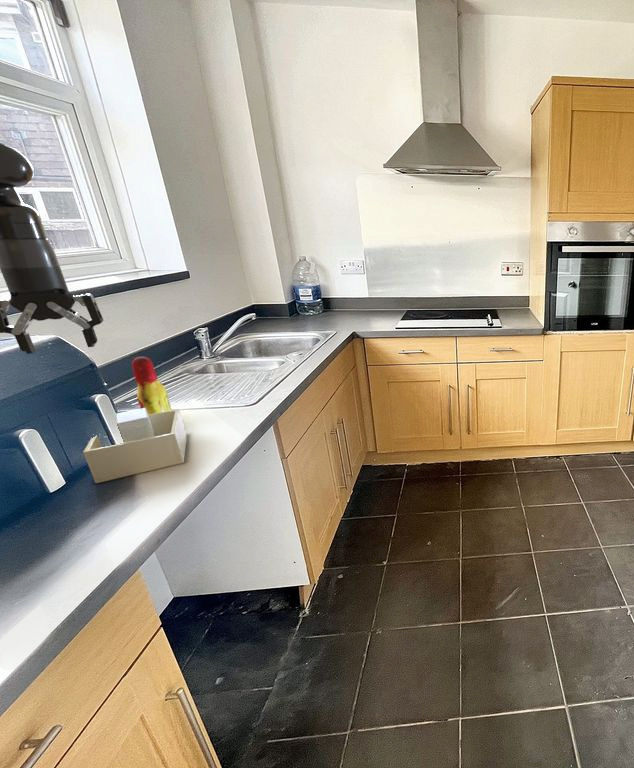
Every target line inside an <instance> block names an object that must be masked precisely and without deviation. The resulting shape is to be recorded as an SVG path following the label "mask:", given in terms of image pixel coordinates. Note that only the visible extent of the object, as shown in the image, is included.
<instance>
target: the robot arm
mask: <svg viewBox="0 0 634 768" xmlns="http://www.w3.org/2000/svg"><path fill="white" fill-rule="evenodd" d="M33 178H34V168H33V166H32V164H31V162H30V161H29V160H28V158H26V156H24V155H23V154H22V153H21V152H20V151H18V150H17V149H16V148H13V147H11V146H9V145H7V144H5V143H3V142H0V273H1V275H2V278H3V280H4V283H5V284H6V287H7V289H8V293H9V294H10V299H0V334H10V335H12V336H14V339H15V340H16V343H17V345H18V348H19V350H20V351H22V352H25V354H27V355H30V354H31V355H32V354H35V353H36V348H35V345H34V343H33V340H32V338H31V336H30V333H29V332H27V329H28V328H29V326H30V325H31V323H32V322H33V321H39V322H41V321H46V320H62V319H64V318H65V319H66V320H68V321H70V322H72V323H74V324H76V325H78V326H79V327H81V328H82V329H81V332H82V335H83V337H84V340H85V343H86V345H87V347H88V348H94V347H95V346H96V344H97V343H98V338H97V335H96V331H95V329H94V328H95V327H96V326H98V325H100V324H102V323H103V322H104V317H103V315H102V313H101V310H100V308H99V306H98V303H97V301H96V299H95V296H94V295H93V294H92V293H85V294H80V295H74V294H72V293H71V292H70V290H69V288H68V285H67V282H66V280H65V277H64V273H63V271H62V268H61V266H60V263H59V260H58V257H57V255H56V252H55V250H54V248H53V246H52V244H51V242H50V240H49V237H48V235H47V232H46V229H45V226H44V223H43V221H42V219H41V216H40V214H39V212H38V211H37V210H36V209H35V208H33V207H32V206H30V205H28V204H25V203H24V202H23V200H22V198H21V196H20V195H19V193H18V191H17V189H16V188H21V187H24V186H26V185H28V184H29V183H30V182H32V180H33ZM76 302H77V303H79V304H80V305H81V306H82V307H86V310H87V312H88V314H89V317H90V319H88V318H86V317H84V316H83V315H82V314H81V313H80V312H78V311H76V310H75V309H73V306H74V305H75V303H76ZM10 306H11V307H13V308H14V309H16V310H17V311H19V312H20V315H19V317H18V319H17V320H16V323H15V324H14V325H10V322H9V319H8V316H7V315H8V314H7V311H9V310H10Z"/></svg>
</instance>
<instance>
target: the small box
mask: <svg viewBox="0 0 634 768" xmlns="http://www.w3.org/2000/svg"><path fill="white" fill-rule="evenodd" d="M115 416H116V417H115V418H116V419H115V420H117V426H118V429H119V431H120V434H121V437H122V439H123V442H124V443H125V442H130V441H135V440H140V439H145V438H149V437H154V436H155V435H154V432H153V429H152V425H151V422H150V419H149V416H148V413H147V410H146V408H137V409H131V410H126V411H122V412H121V411H120V412H116V413H115Z"/></svg>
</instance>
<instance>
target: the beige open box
mask: <svg viewBox="0 0 634 768" xmlns="http://www.w3.org/2000/svg"><path fill="white" fill-rule="evenodd" d="M148 416H149V419H150V422H151V425H152V429H153V432H154V435H155V436H154V437H149V438H145V439H140V440H135V441H130V442H125V443H120V444H115V445H110V446H105V447H102V445H101V443H100V440H99V438H98V436H97V435H96V436H95V437H93V438H92V437H91V438H90V440H89V441H88V443H87V445H86V447H85V448H84V450H83V451H82V452H83V456H84V458H85V461H86V463H87V466H88V468H89V471H90V473H91V475H92V478H93V481H94V483H95V484H99V483H104V482H108V481H113V480H116V479H120V478H125V477H129V476H133V475H137V474H142V473H145V472H150V471H154V470H159V469H162V468H166V467H171V466H175V465H179V464H183V463H184V462H185V455H186V448H187V447H186V445H187V439H188V438H187V437H188V434H187V431H186V427H185V423H184V421H183V417H182V414H181V410H180V408H177V409H171V411H166V412H160V413H155V414H149V415H148Z"/></svg>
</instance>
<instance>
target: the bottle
mask: <svg viewBox="0 0 634 768" xmlns="http://www.w3.org/2000/svg"><path fill="white" fill-rule="evenodd" d="M131 365H132V373H133V376H134V379H135V382H136V384H137V392H136V400H137V402H138V405H139V409H141V408H146V410H147V413H148V415H149V414H155V413H160V412H166V411H171V410H172V407H171V403H170V399H169V395H168V392H167V389H166V387H165V386H164V385H163V384H162V383H161V382H160V381H159V378H158V376H157V372H156V371H155V370H156V369H155V367H154V364H153V362H152V360H151V359H150V358H148V357H147V356H137V357H135V358H133V360H132V362H131Z"/></svg>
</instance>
